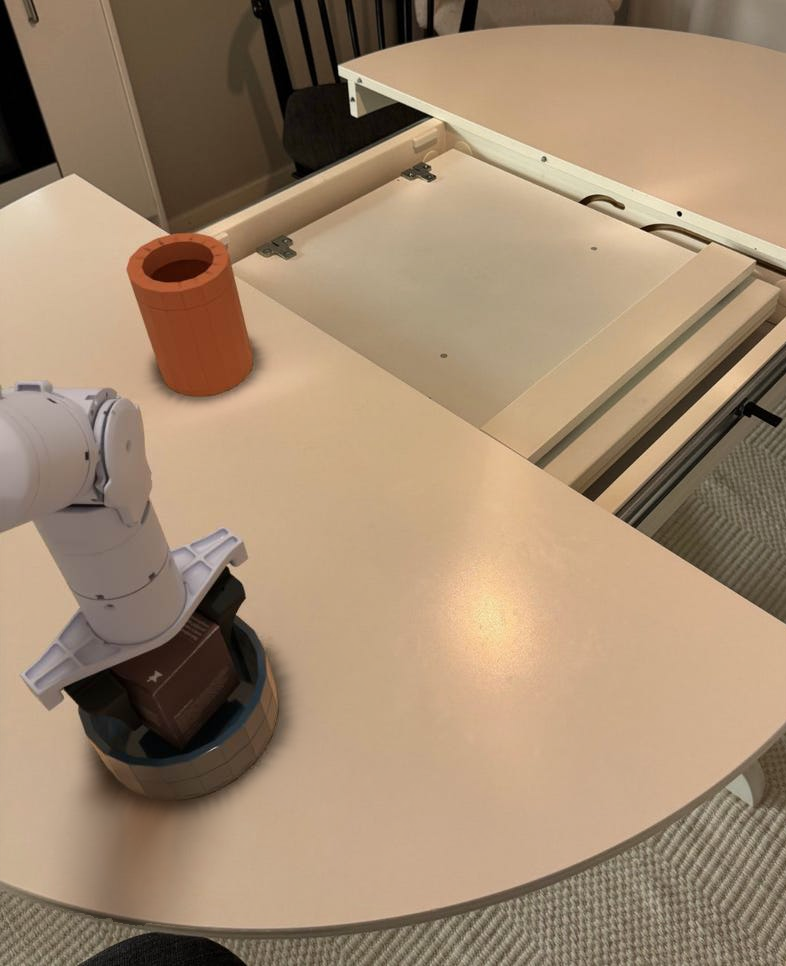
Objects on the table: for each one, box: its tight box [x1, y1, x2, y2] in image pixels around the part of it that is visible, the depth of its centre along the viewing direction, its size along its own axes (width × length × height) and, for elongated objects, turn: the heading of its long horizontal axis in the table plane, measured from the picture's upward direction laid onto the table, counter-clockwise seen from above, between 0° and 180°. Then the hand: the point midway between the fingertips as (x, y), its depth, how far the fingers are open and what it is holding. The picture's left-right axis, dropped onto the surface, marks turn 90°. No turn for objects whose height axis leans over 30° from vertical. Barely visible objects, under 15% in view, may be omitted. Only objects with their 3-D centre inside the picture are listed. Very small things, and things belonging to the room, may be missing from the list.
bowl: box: [77, 614, 279, 801], centre depth 66 cm, size 12×12×5 cm
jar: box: [126, 232, 254, 397], centre depth 88 cm, size 9×9×12 cm
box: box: [107, 611, 241, 749], centre depth 63 cm, size 6×6×7 cm
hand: (174, 682), depth 64 cm, fingers closed on box, 6 cm apart
